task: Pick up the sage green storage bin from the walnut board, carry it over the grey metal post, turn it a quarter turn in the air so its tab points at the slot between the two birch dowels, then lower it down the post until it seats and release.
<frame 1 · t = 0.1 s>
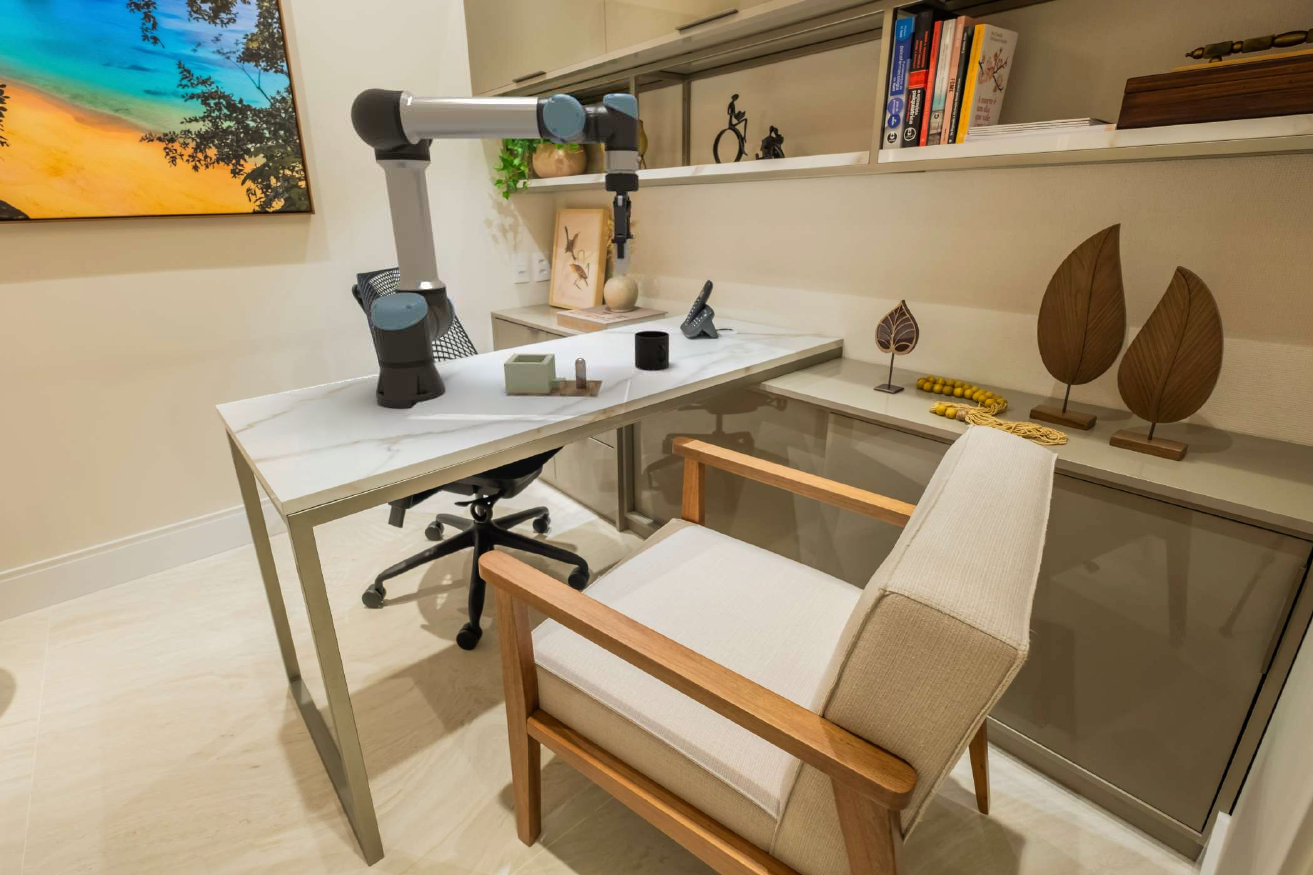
hand: (623, 270, 148), 28 cm above the table, fingers open, 13 cm apart
sage green storage bin: (531, 387, 152), point 1 cm above the table, touching board
mug: (654, 368, 174), on the table
post: (581, 392, 152), resting on board
board: (556, 392, 151), on the table
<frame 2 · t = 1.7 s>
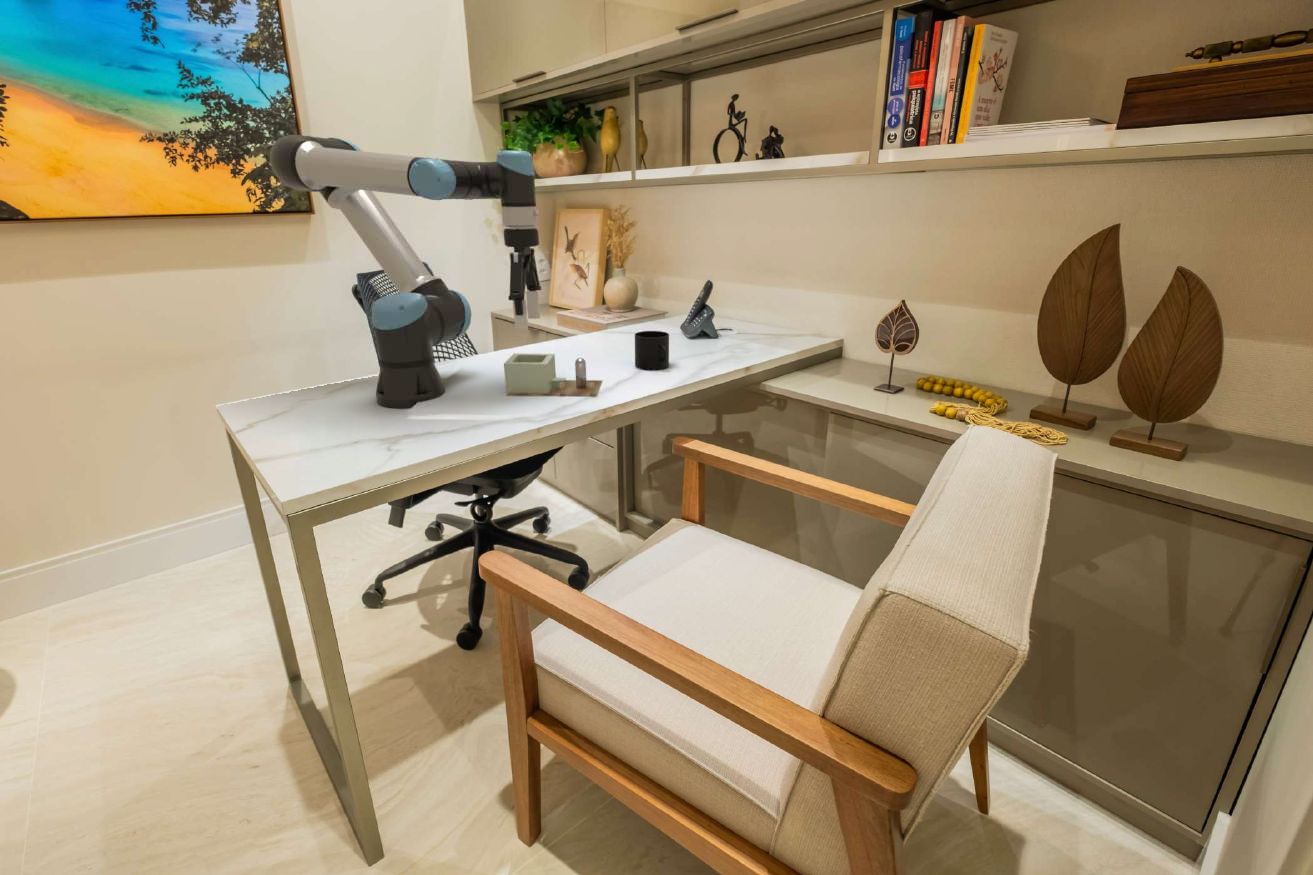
hand: (528, 323, 146), 17 cm above the table, fingers open, 13 cm apart
nothing on the table moved.
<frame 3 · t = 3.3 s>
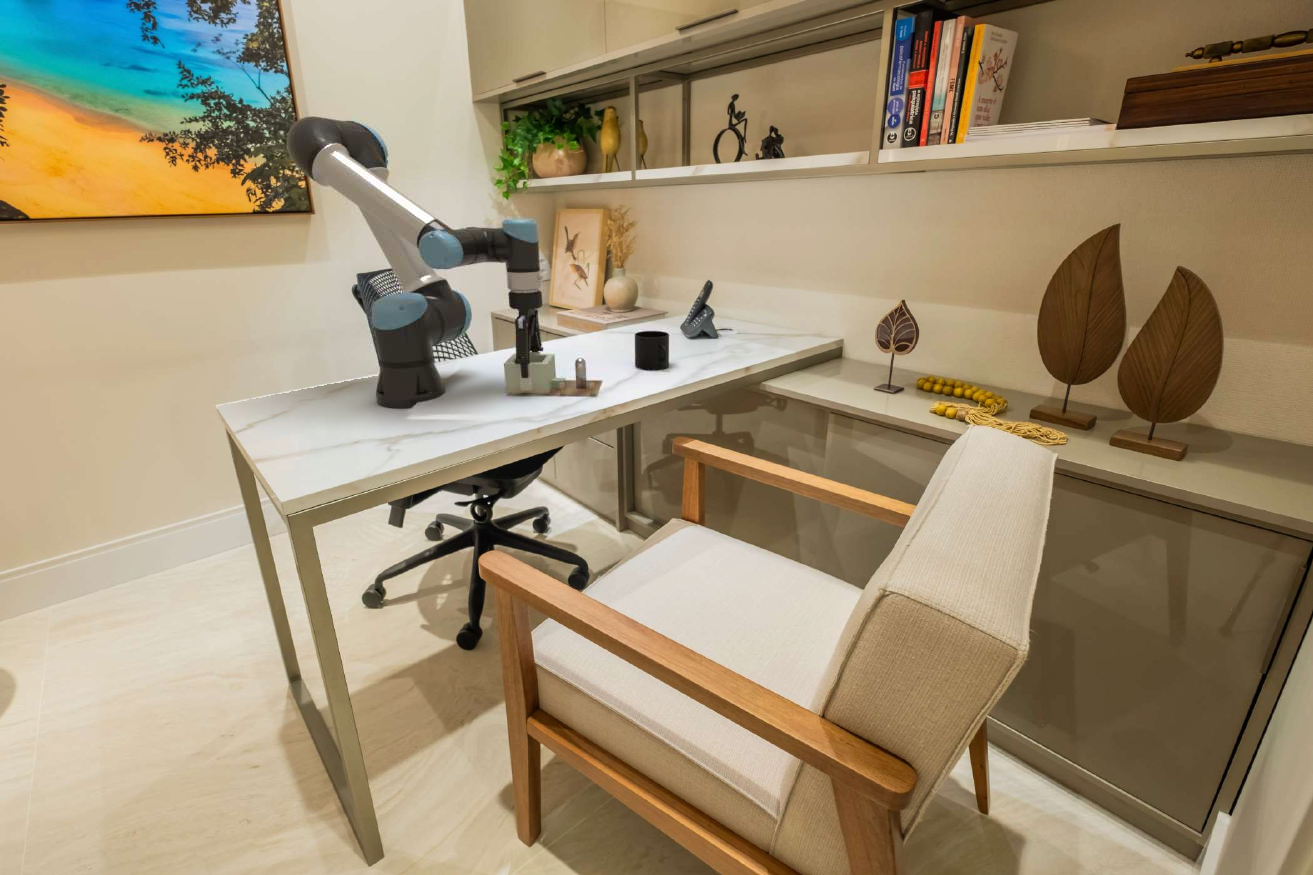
hand: (531, 384, 151), 2 cm above the table, fingers closed on sage green storage bin, 10 cm apart
sage green storage bin: (531, 387, 152), point 1 cm above the table, touching board, gripper
everything else where it was.
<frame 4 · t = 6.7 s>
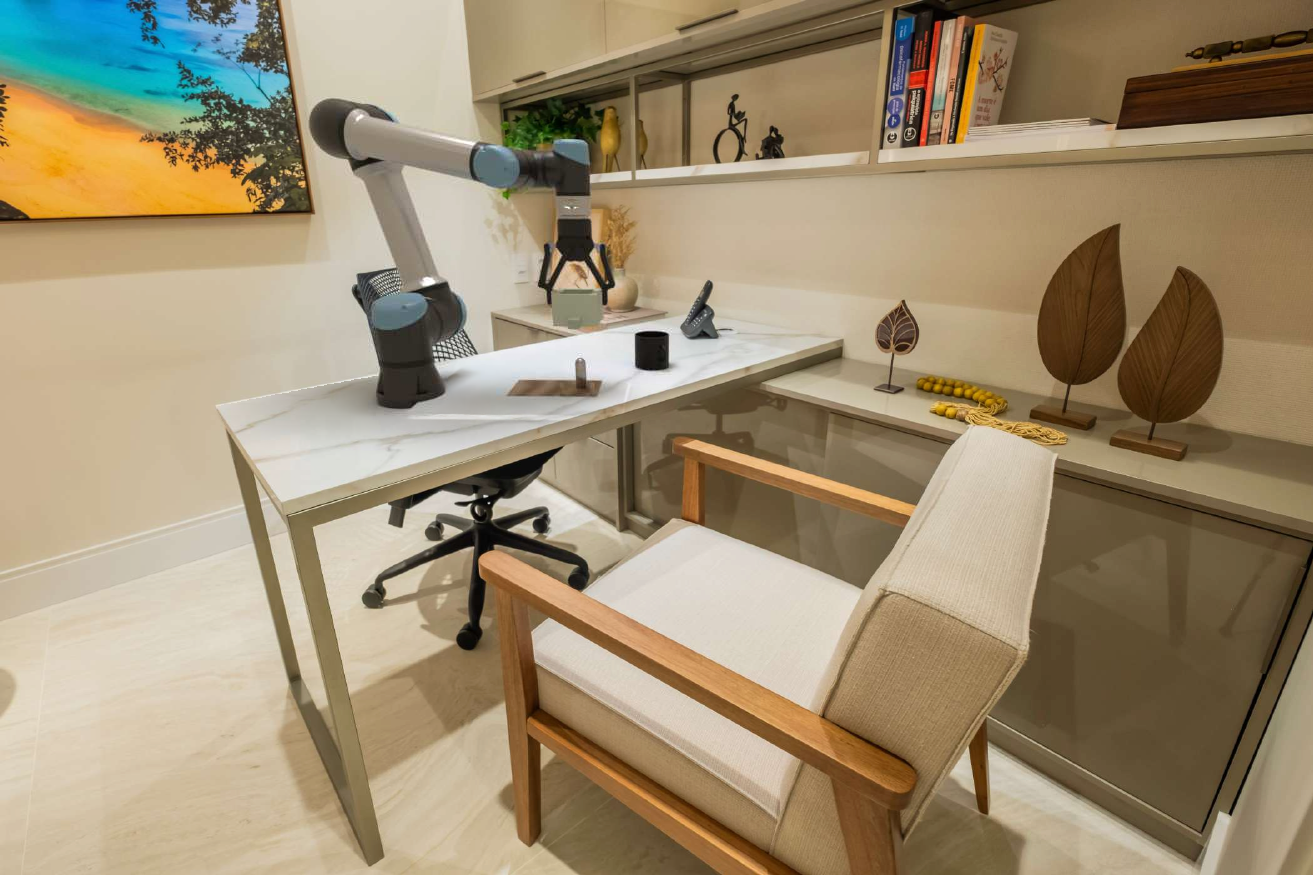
hand: (578, 319, 145), 18 cm above the table, fingers closed on sage green storage bin, 10 cm apart
sage green storage bin: (578, 322, 146), point 17 cm above the table, touching gripper
everything else where it was.
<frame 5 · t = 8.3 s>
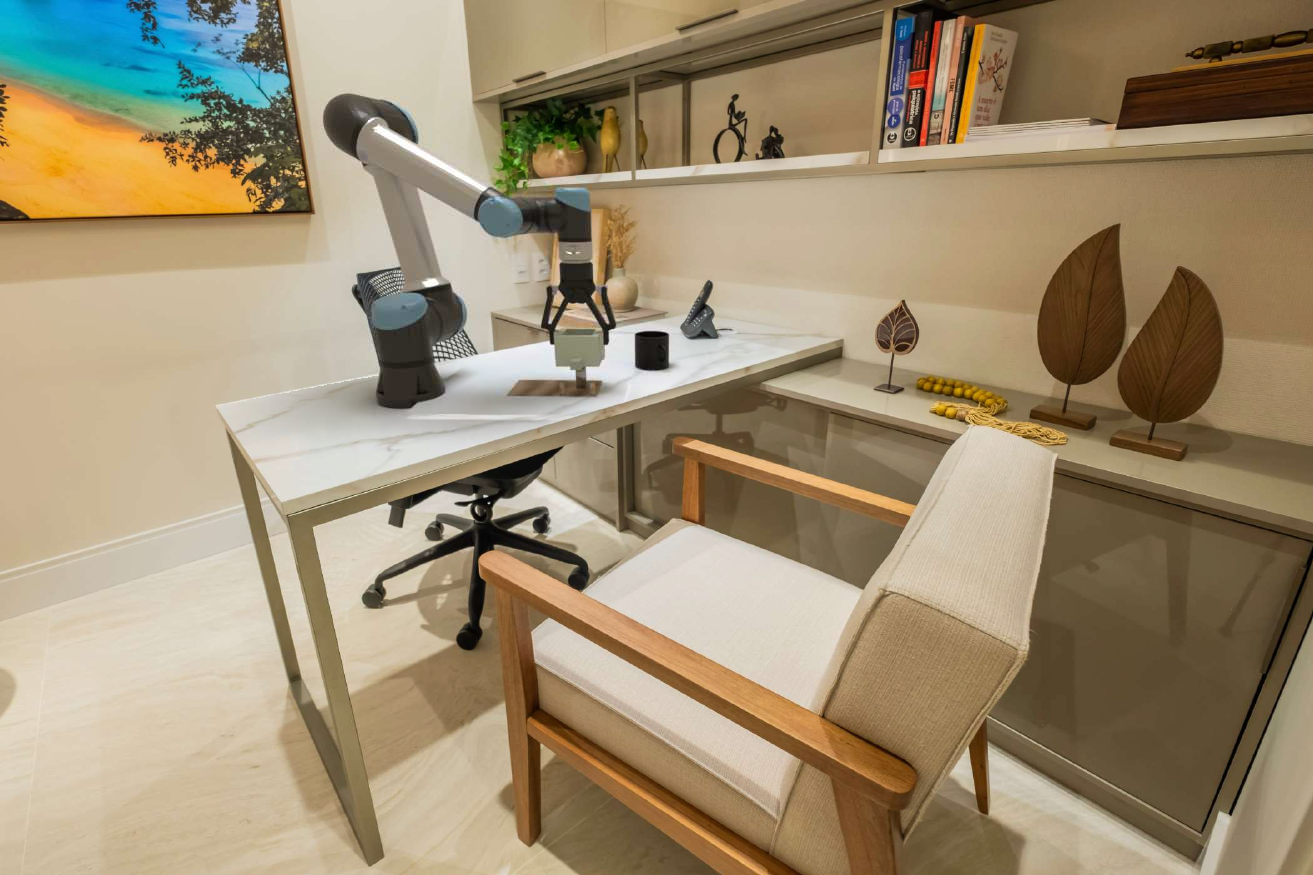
hand: (580, 358, 149), 8 cm above the table, fingers closed on sage green storage bin, 10 cm apart
sage green storage bin: (580, 361, 149), point 8 cm above the table, touching gripper
everything else where it was.
when the fingers open (3 cm above the table, at t = 10.0 s): sage green storage bin stays where it is, resting on board.
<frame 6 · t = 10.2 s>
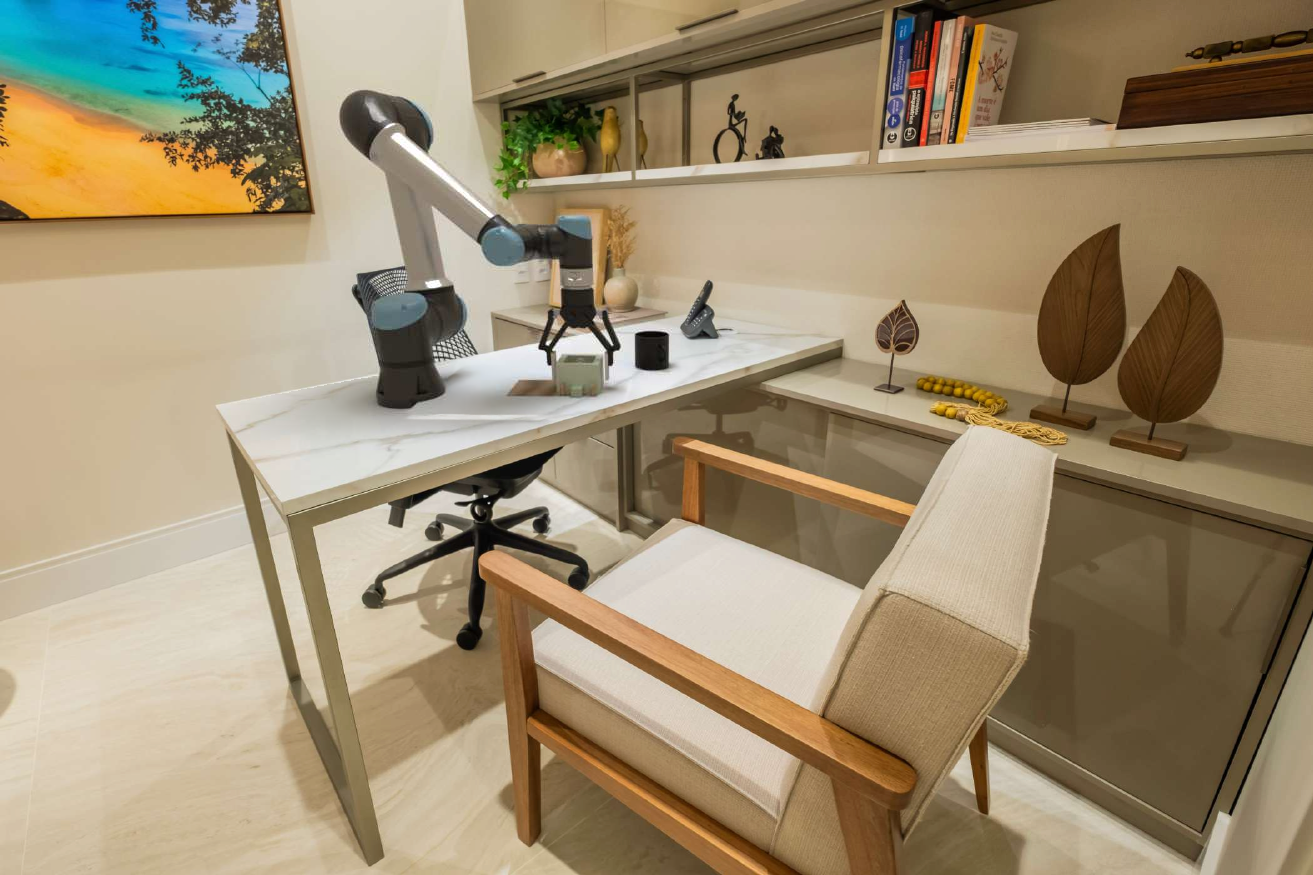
hand: (581, 379, 151), 3 cm above the table, fingers open, 12 cm apart
sage green storage bin: (581, 387, 151), point 1 cm above the table, touching board
everything else where it was.
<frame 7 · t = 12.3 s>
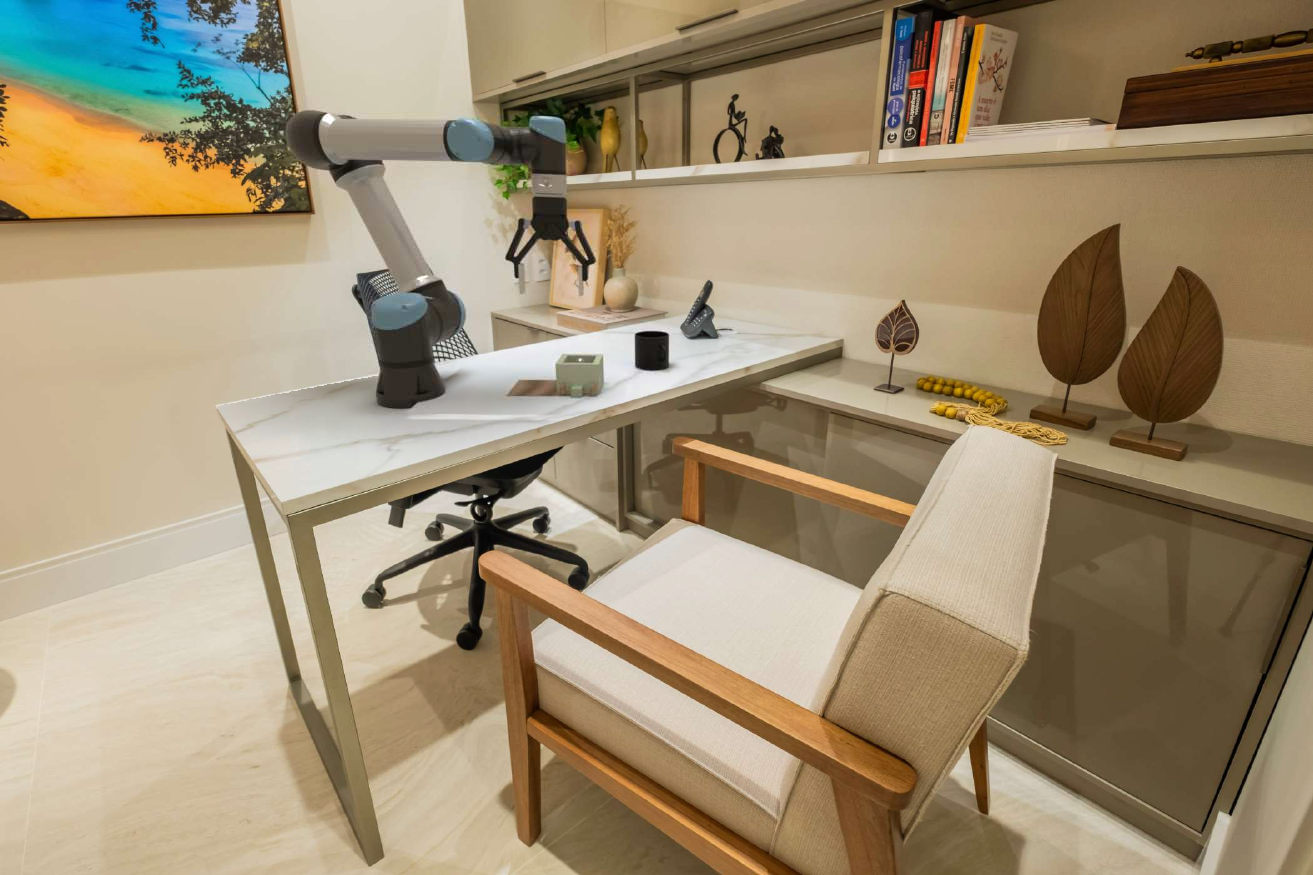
hand: (551, 294, 145), 23 cm above the table, fingers open, 13 cm apart
nothing on the table moved.
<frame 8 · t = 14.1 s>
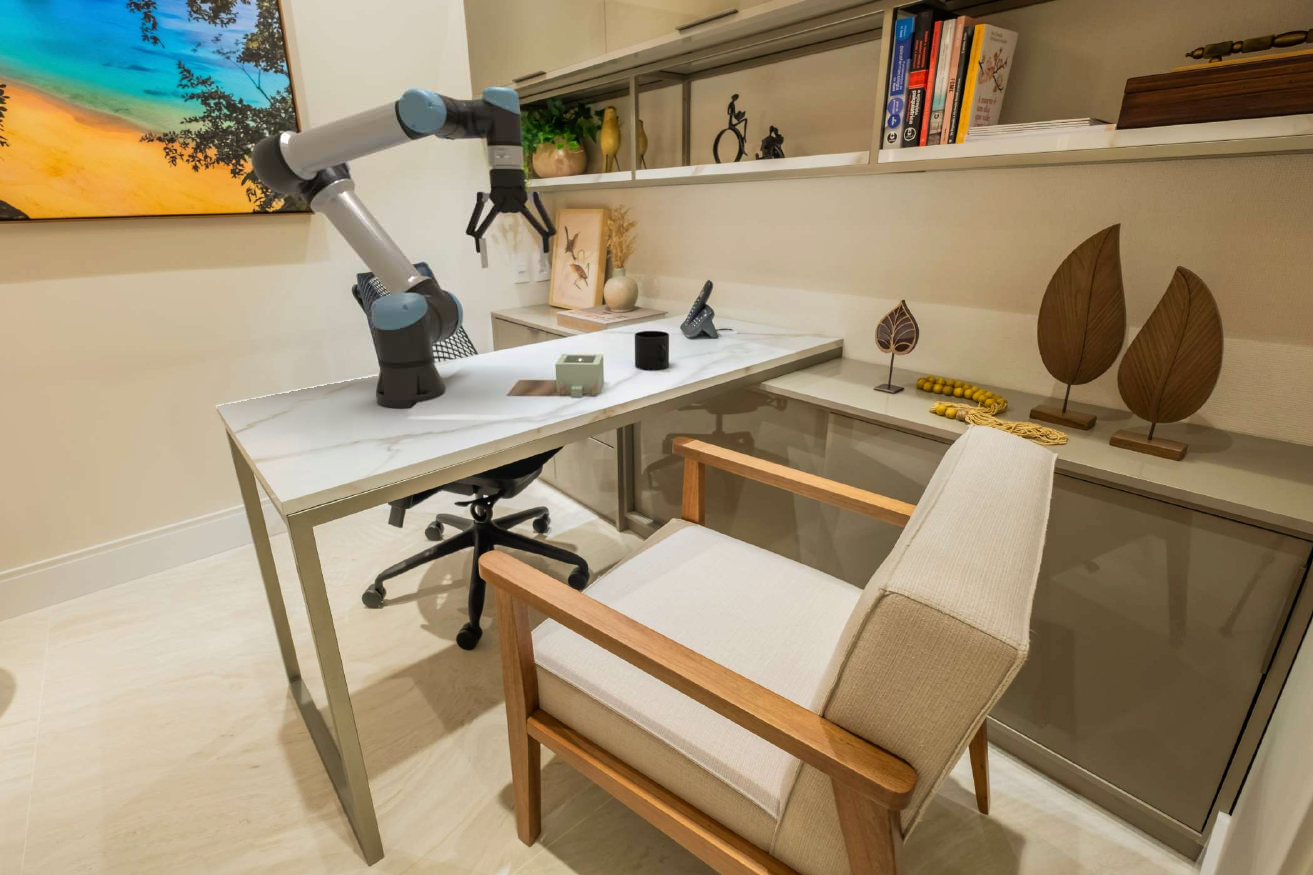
hand: (514, 268, 145), 29 cm above the table, fingers open, 13 cm apart
nothing on the table moved.
at the end: sage green storage bin 0.1 cm from the target spot, point 1.2 cm above the table; sage green storage bin tilted 0°; the gripper is holding nothing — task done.
